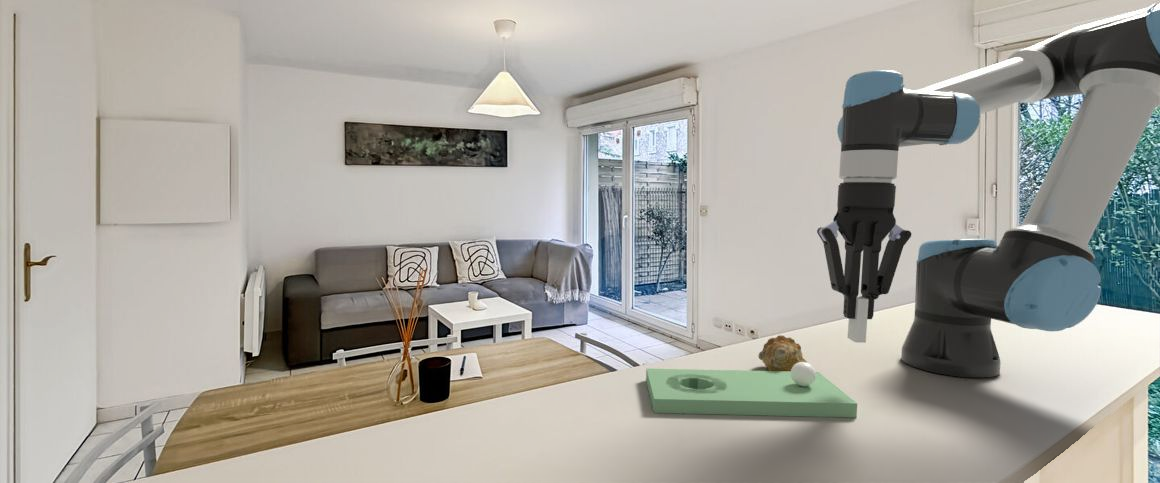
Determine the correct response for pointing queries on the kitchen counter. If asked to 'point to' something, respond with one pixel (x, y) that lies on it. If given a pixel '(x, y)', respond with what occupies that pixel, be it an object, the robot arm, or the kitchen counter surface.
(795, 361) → the seashell
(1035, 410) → the kitchen counter surface
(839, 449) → the kitchen counter surface
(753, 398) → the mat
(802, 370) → the ball
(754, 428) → the kitchen counter surface
